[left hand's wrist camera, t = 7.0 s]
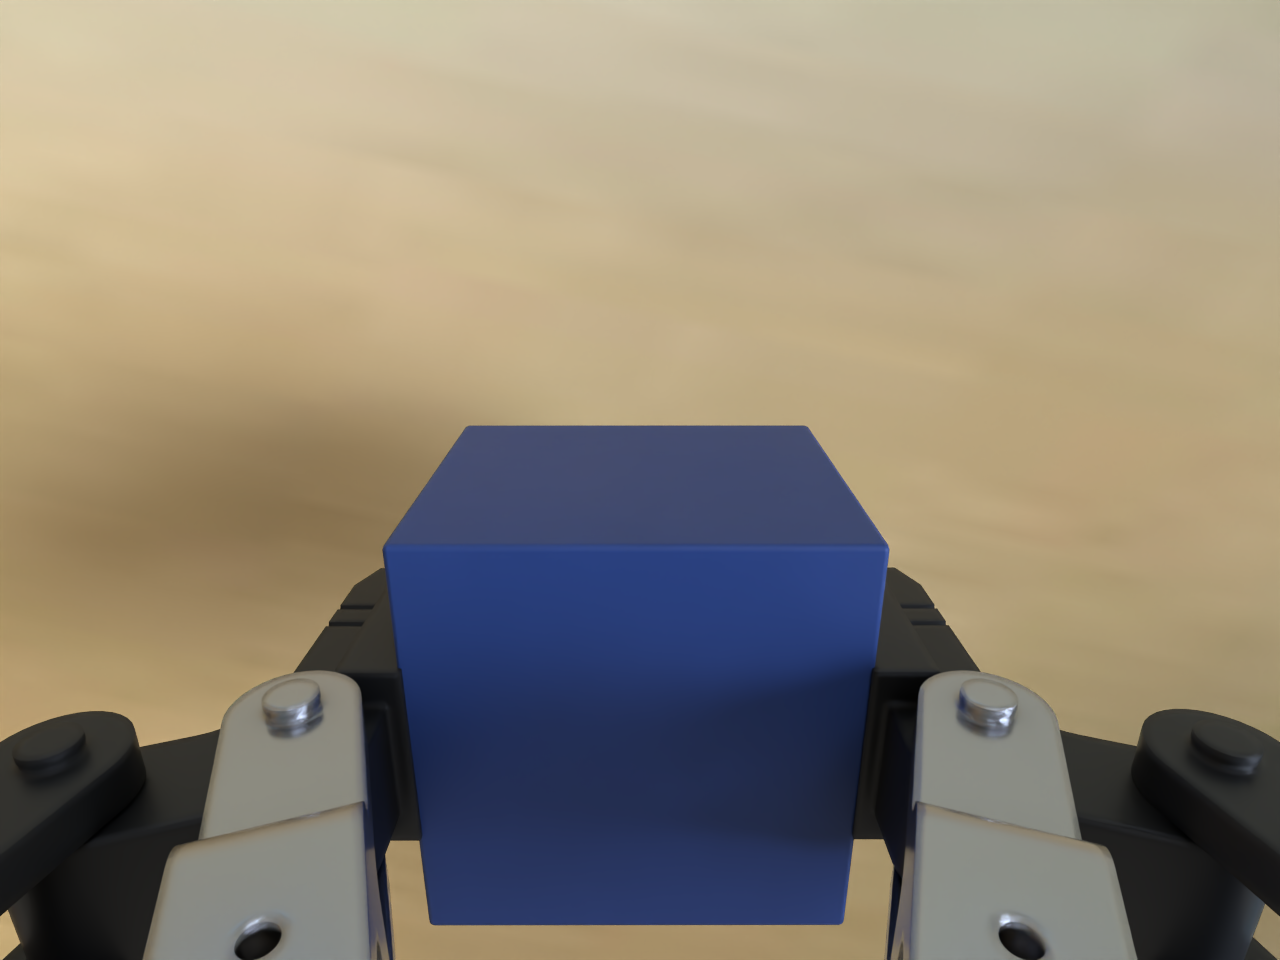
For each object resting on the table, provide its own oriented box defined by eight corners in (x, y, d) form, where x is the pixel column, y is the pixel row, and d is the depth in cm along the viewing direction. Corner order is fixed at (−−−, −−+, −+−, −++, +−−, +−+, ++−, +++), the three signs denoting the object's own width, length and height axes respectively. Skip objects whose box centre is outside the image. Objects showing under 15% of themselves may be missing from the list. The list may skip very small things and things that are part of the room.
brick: (465, 423, 11) (379, 545, 8) (808, 424, 11) (893, 546, 8) (488, 712, 13) (428, 927, 9) (785, 713, 13) (844, 927, 9)
